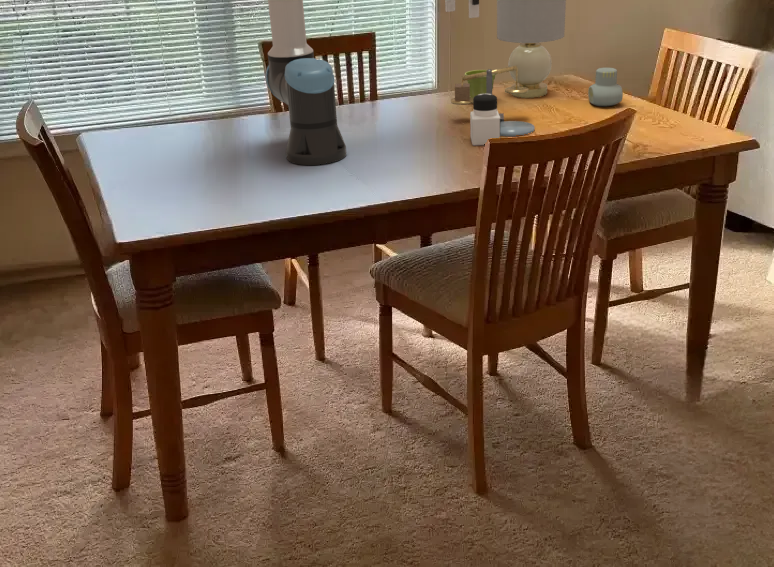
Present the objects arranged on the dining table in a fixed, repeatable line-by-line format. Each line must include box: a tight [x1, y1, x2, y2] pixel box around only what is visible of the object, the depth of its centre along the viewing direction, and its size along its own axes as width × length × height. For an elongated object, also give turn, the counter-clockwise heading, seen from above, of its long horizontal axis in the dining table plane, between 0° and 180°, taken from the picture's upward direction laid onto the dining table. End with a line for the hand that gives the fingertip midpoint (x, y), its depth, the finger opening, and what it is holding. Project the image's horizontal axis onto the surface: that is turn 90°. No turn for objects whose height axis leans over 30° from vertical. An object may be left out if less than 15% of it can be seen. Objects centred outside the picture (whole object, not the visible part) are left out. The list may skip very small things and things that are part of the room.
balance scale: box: [450, 66, 528, 122], centre depth 237 cm, size 21×6×15 cm, turn 84°
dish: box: [500, 120, 536, 137], centre depth 230 cm, size 12×12×1 cm
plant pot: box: [464, 69, 497, 98], centre depth 257 cm, size 9×9×9 cm
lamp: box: [496, 0, 567, 99], centre depth 257 cm, size 20×20×35 cm
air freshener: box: [587, 67, 624, 107], centre depth 247 cm, size 11×8×10 cm
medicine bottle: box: [469, 93, 501, 147], centre depth 220 cm, size 7×7×12 cm
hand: (461, 14), depth 234 cm, fingers open, 13 cm apart
